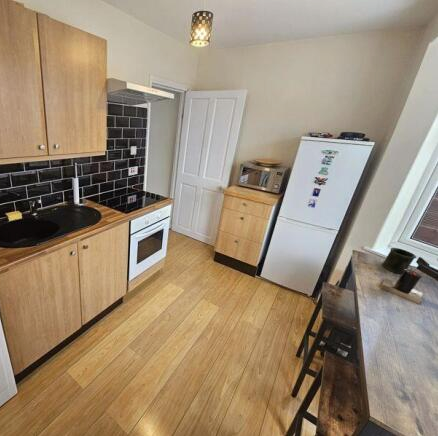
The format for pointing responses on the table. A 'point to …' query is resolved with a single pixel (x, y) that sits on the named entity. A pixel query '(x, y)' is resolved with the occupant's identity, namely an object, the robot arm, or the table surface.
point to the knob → (408, 280)
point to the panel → (390, 286)
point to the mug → (398, 260)
